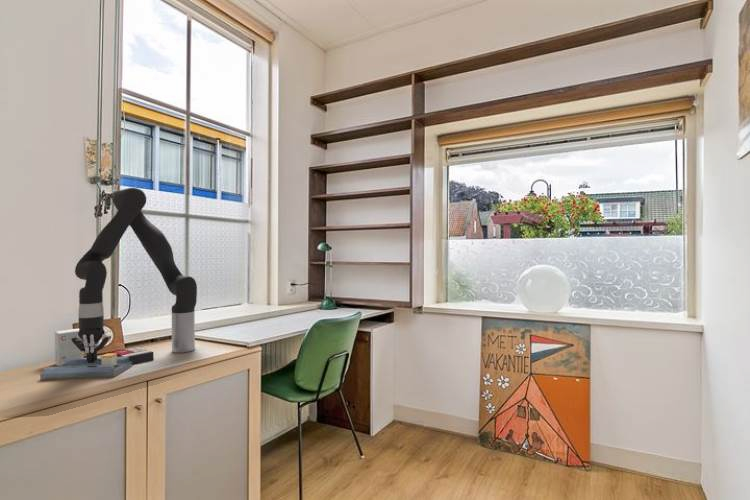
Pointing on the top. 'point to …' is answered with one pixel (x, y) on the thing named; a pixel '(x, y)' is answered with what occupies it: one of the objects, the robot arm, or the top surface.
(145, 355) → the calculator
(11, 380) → the top surface
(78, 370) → the panel
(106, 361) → the breaker toggle
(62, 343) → the small box
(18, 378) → the top surface
